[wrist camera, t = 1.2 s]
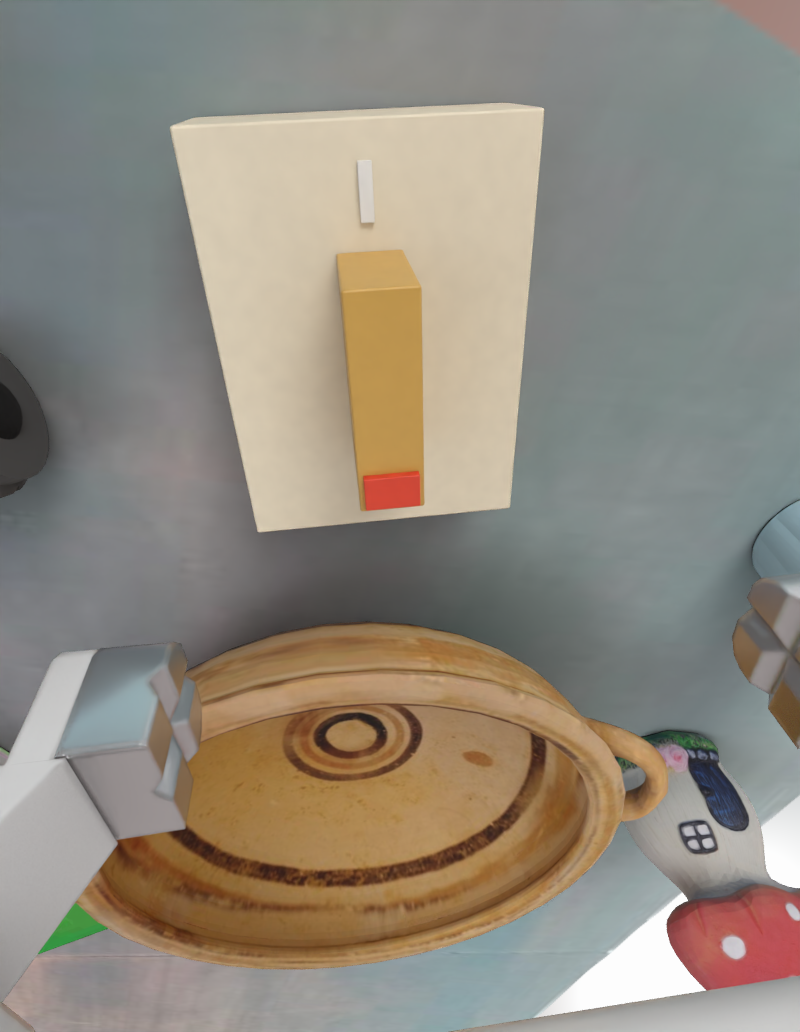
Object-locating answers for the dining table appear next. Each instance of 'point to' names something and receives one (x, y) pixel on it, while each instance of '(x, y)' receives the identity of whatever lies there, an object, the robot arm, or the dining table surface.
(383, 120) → the plate
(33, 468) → the flashlight
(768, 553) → the cup
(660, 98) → the dining table surface
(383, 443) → the lock knob
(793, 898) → the decorative ornament
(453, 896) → the ceramic bowl
